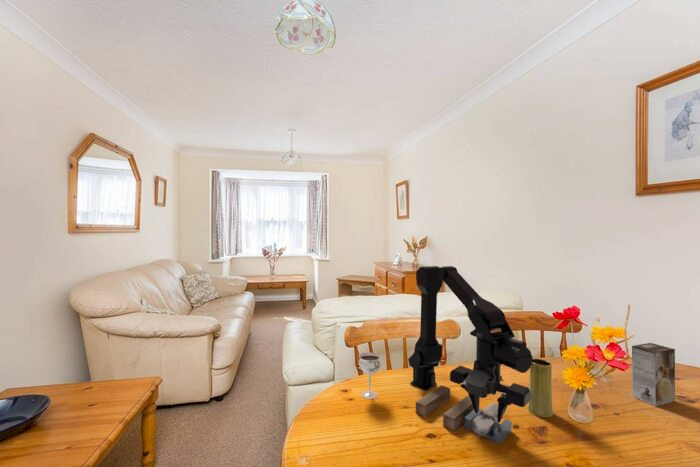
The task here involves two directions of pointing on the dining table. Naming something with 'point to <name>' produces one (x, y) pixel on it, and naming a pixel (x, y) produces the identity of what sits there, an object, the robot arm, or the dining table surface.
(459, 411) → the pair of brown blocks
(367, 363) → the wineglass
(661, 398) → the coffee box
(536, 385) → the vase
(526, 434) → the dining table surface
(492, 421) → the axle
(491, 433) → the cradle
